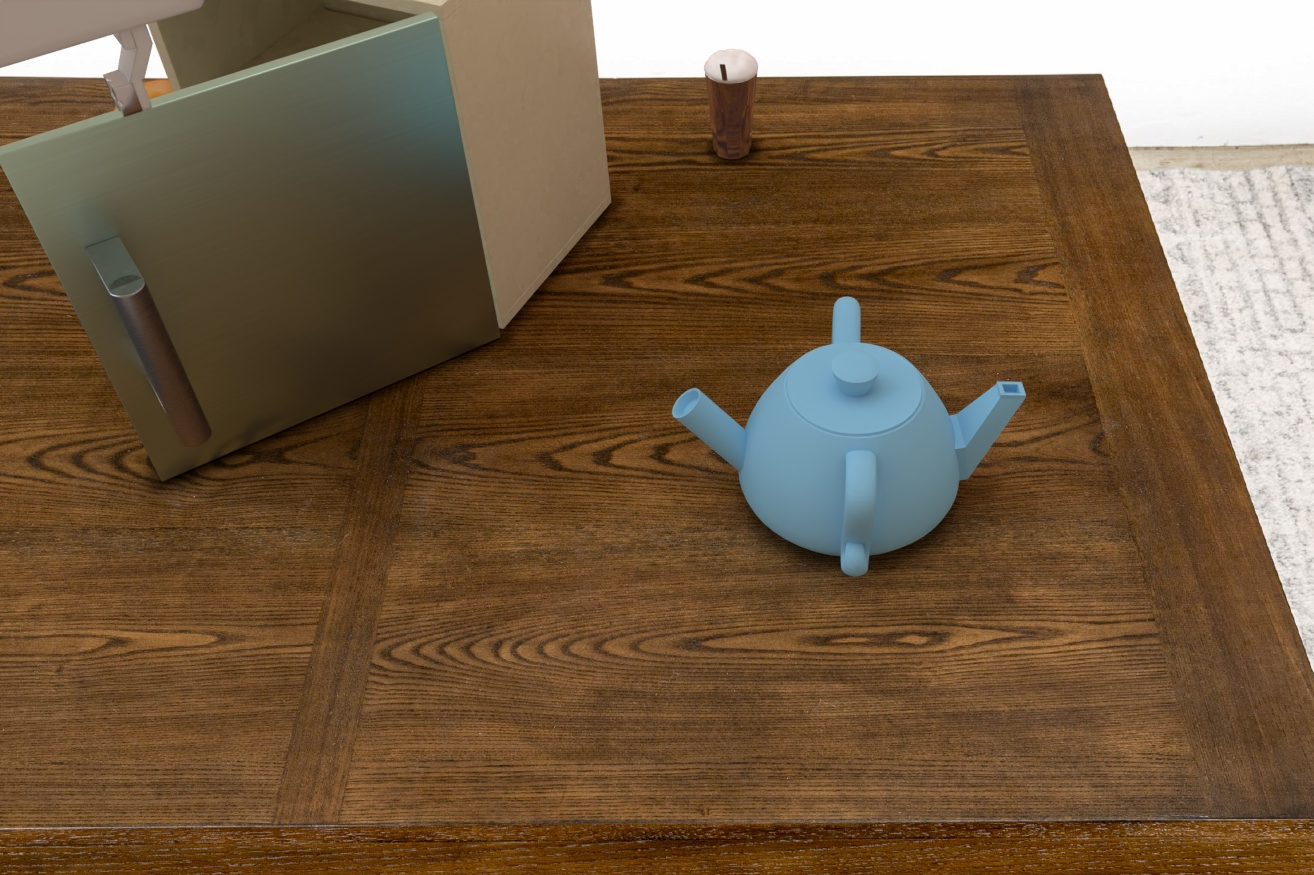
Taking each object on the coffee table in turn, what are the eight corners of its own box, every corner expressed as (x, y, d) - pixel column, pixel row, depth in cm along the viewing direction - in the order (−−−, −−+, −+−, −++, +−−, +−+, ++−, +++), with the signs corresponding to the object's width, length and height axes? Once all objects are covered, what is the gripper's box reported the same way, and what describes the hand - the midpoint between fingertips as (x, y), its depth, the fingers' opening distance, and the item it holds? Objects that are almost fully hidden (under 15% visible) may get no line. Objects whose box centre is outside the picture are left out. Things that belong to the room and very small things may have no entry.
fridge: (503, 329, 97) (441, 5, 78) (232, 250, 105) (114, -62, 86) (611, 202, 108) (580, -109, 89) (359, 139, 116) (280, -159, 97)
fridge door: (538, 381, 93) (482, 56, 74) (190, 537, 83) (23, 210, 64) (495, 330, 97) (431, 10, 78) (157, 473, 87) (-8, 148, 68)
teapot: (809, 370, 93) (815, 246, 85) (1013, 481, 85) (1040, 355, 77) (669, 490, 85) (659, 366, 77) (878, 623, 77) (892, 501, 69)
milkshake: (699, 166, 111) (695, 61, 104) (713, 133, 115) (710, 29, 108) (749, 172, 111) (749, 66, 103) (762, 139, 114) (763, 35, 107)
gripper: (-367, -56, 48) (-172, 245, 58) (167, -182, 55) (256, 101, 66) (-384, -111, 51) (-197, 181, 61) (121, -223, 59) (212, 52, 69)
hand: (41, 139), depth 63 cm, fingers open, 8 cm apart
